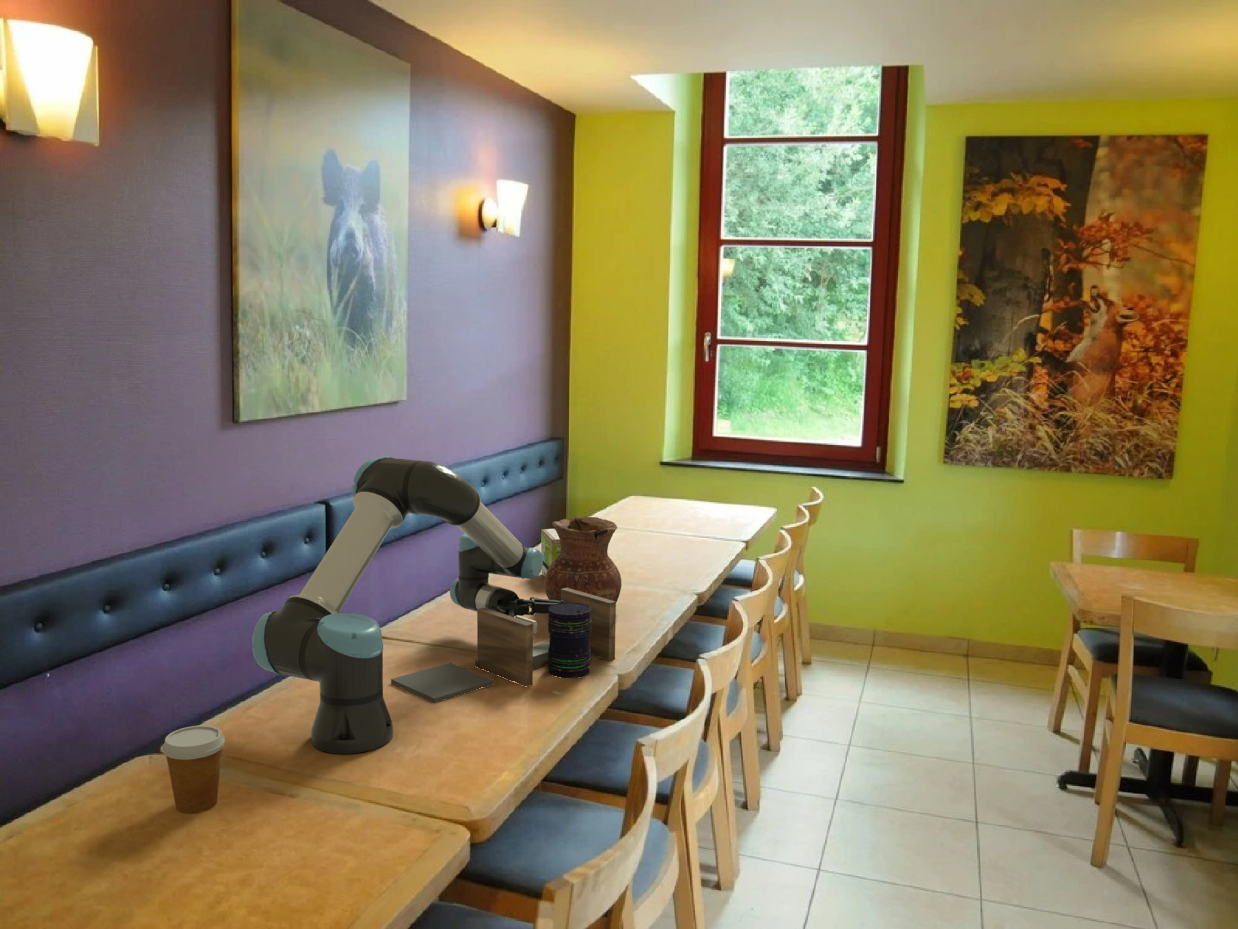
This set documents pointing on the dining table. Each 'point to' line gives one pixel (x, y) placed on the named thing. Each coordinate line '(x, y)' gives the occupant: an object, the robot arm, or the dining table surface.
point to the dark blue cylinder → (569, 640)
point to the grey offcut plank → (540, 652)
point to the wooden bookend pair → (511, 639)
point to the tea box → (549, 548)
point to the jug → (584, 559)
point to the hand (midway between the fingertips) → (557, 621)
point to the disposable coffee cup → (194, 766)
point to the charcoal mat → (442, 682)
